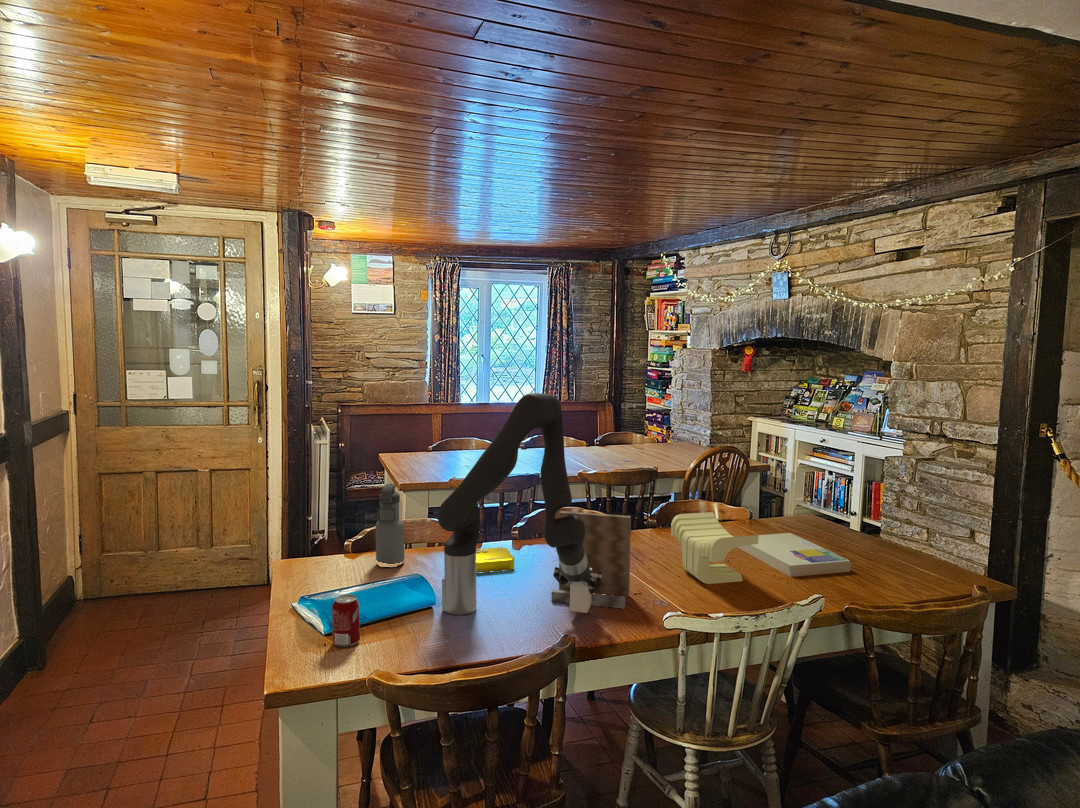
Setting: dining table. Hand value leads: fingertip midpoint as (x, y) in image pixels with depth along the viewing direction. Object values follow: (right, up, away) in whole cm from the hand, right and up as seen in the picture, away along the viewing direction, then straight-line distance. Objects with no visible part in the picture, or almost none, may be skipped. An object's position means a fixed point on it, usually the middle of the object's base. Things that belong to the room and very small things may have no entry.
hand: (582, 589), depth 196 cm
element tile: (-30, -4, +43) cm, 53 cm away
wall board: (+3, -6, +13) cm, 14 cm away
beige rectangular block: (-1, -5, -1) cm, 5 cm away
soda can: (-62, -9, -19) cm, 66 cm away
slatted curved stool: (+45, -5, +33) cm, 56 cm away
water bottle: (-65, -3, +43) cm, 78 cm away
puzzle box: (+79, -4, +53) cm, 95 cm away
